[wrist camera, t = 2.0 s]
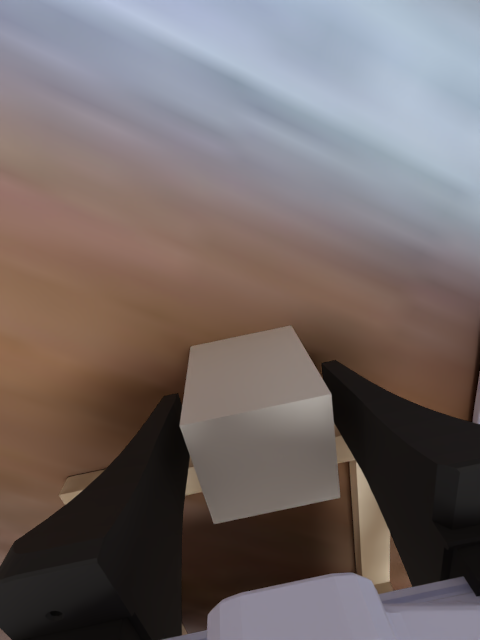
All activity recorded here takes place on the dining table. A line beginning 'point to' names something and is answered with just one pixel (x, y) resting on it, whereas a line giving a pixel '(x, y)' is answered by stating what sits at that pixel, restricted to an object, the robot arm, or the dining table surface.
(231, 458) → the white block
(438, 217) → the dining table surface
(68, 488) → the frame
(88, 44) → the dining table surface
